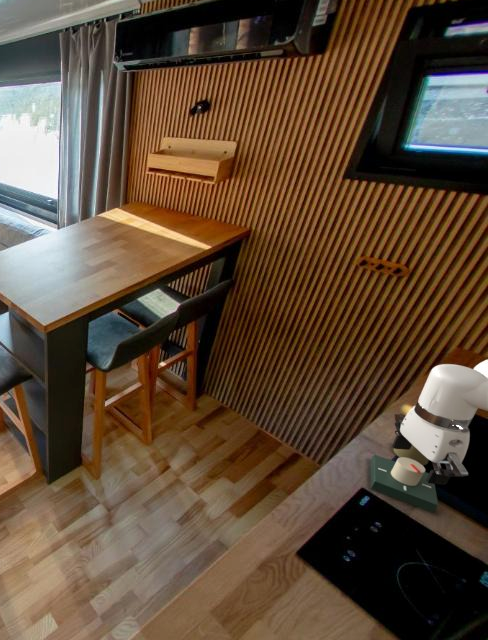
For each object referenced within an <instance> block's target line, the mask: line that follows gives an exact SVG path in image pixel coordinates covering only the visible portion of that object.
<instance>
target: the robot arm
mask: <svg viewBox="0 0 488 640" xmlns="http://www.w3.org/2000/svg"><path fill="white" fill-rule="evenodd" d="M479 409H481V410H484V411H487V412H488V359H485V360H483V361H480V362H479V363H478V364H476V365H475V366H474V367H473V368H471V367H467V366H464V365H459V364H452V363H443V364H442V363H441V364H438V365H436V366H434V367H432V369H431V370H430V371H429V375H428V376H427V379H426V381H425V383H424V386H423V388H422V390H421V392H420V394H419V397H418V400H417V402H416V403H415V405H413V406H412V408H411V409H409V411H408V412H407V413H406V414H402V413H395V414H394V421H395V422H394V426H395V429H396V430H395V431H394V434H395V435H396V436H395V438H394V440H393V443H392V445H391V448H393V450H394V449H405V450H409V449H410V448H411V446H412V445H413V446H414V447H415V448H417V449H418V450H419V451H420V452H421V453H422V454H423V455H424V456H425V457H426V458H428V459H429V461H431V464H432V466H433V469H430V471H429V472H428V473H429V475H428V477H427V479H426V481H427V482H428V483H430V484H435V485H447V484H448V482H449V480H450V479H451V478H462V477H467V476H469V472H468V470H467V469H466V467H465V466H464V464H463V461H464V459H465V457H466V455H467V451H468V449H469V445H470V440H471V439H470V437H471V433H470V430H471V429H469V426H470V424H471V422H472V420H473V418H474V416H475V415H476V413H477V411H478V410H479ZM441 464H444V465H445V467H446V469H444V468H442V466H441Z"/></svg>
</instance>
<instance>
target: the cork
mask: <svg viewBox="0 0 488 640" xmlns="http://www.w3.org/2000/svg"><path fill="white" fill-rule="evenodd" d="M393 453H394V454H395V455H396V456H397V457H398V458H400V457H406V458H410V459H413V460H415V461H417V462H419V463H420V464H421V465H423V466H426V465H428V463H429V461H430V460H429V459H428V458H426V457H425V456H424V455H423V454H422V453H421V452H420V451H419V450H418V449H417V448H415V447H414V446H413V445H412V446H411V448H410V449H409V450H405V449H394V448H393Z"/></svg>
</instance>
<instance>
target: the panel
mask: <svg viewBox="0 0 488 640" xmlns="http://www.w3.org/2000/svg"><path fill="white" fill-rule="evenodd" d="M395 463H396V461H394V460H391V459H389V458H385V457H383V456H380V455H377V454H373V455H372V457H371V458H370V463H369V464H370V465H369V467H370V468H369V469H370V489H371V490H373V491H376V492H379V493H382V494H384V495H386V496H389V497H392V498H395V499H397V500H400V501H402V502H404V503H407V504H410V505H412V506H415V507H418V508H420V509H422V510H425V511H428V512H430V513H434V512H435V511H436V509H437V508H438V507H439V501H438V496H437V490H436V484H430V483H428V482H427V481H426V479H427V477H428V475H429V473H430V472H426V471H425V472H424V474H423V476H422V477H421V479H420V481H419V482H418V484H417V485H415V486H410V485H406V484H403V483H401V482H399V481H397V480H396V479H395V478H394V477H393V476H392V475H391V471H392V469H393V467H394V465H395Z"/></svg>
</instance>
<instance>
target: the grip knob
mask: <svg viewBox="0 0 488 640" xmlns="http://www.w3.org/2000/svg"><path fill="white" fill-rule="evenodd" d="M395 462H396V463H395V465H394V467H393V469H392V471H391V475H392V476H393V477H394V478H395V479H396V480H397V481H399V482H401V483H403V484H406V485H410V486H415V485H417V484H418V482H419V481H420V479H421V477H422V476H423V474H424V472H426V468H425V465H421V464H420V463H419V462H417V461H415V460H413V459H410V458H406V457H398V458H397V459H396V461H395Z"/></svg>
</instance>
